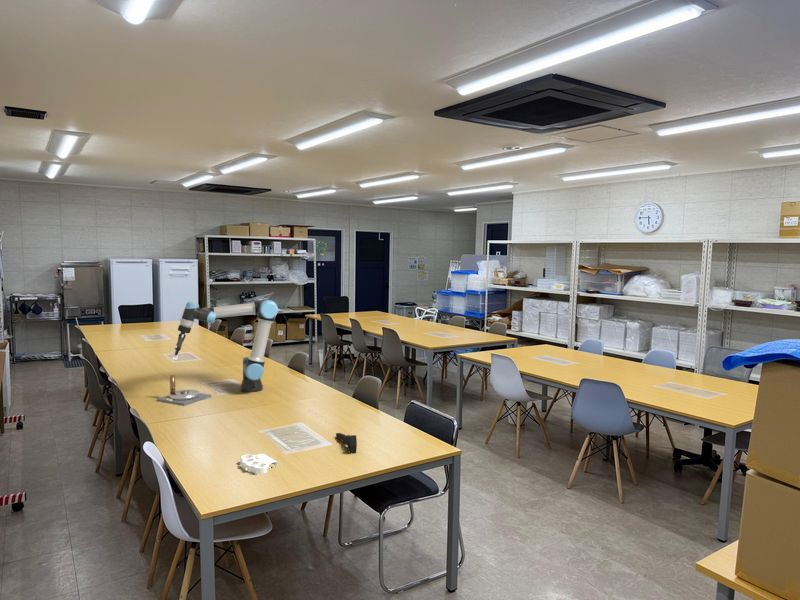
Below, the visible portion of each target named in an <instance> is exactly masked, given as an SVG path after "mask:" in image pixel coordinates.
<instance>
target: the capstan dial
mask: <svg viewBox="0 0 800 600" xmlns="http://www.w3.org/2000/svg"><path fill="white" fill-rule="evenodd" d="M169 387H170V388H169V390H170V391H169V394H168V395H169V398H170V399H173V400H188V399H193V398H197V397H199V393H200V391H199V390H196V389H181V390H176V375H175V374H170V375H169Z"/></svg>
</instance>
